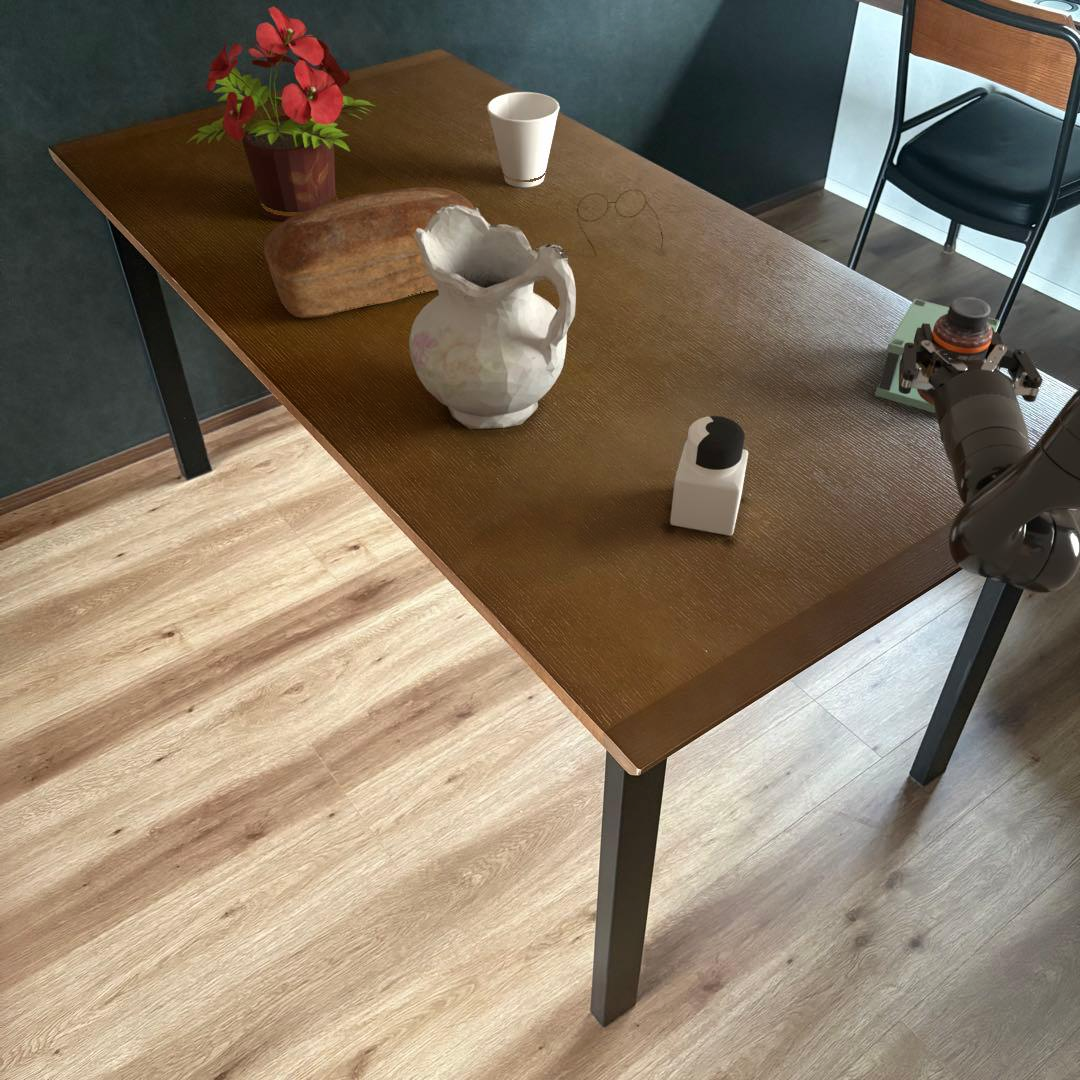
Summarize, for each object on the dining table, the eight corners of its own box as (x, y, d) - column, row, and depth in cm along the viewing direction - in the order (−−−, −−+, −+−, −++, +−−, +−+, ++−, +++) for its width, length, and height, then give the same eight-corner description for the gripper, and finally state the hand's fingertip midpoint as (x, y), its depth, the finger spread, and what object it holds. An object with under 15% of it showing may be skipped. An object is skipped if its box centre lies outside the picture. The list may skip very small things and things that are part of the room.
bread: (492, 284, 160) (489, 198, 150) (288, 332, 150) (271, 244, 141) (462, 247, 167) (457, 163, 158) (267, 291, 158) (249, 205, 149)
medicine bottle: (741, 496, 125) (755, 414, 117) (732, 537, 121) (746, 454, 112) (680, 486, 127) (690, 403, 119) (669, 526, 122) (678, 443, 114)
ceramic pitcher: (601, 389, 142) (613, 206, 127) (553, 470, 128) (558, 276, 112) (451, 358, 148) (443, 180, 132) (388, 433, 134) (371, 243, 118)
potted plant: (284, 258, 165) (246, 56, 144) (185, 201, 179) (137, 9, 158) (427, 193, 181) (412, 1, 160) (326, 145, 194) (299, -37, 173)
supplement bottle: (904, 384, 121) (929, 295, 113) (951, 375, 122) (978, 286, 114) (934, 415, 117) (962, 325, 109) (982, 405, 118) (1012, 315, 110)
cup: (509, 200, 178) (507, 126, 170) (477, 172, 186) (474, 100, 177) (571, 184, 183) (573, 111, 174) (538, 157, 190) (537, 86, 181)
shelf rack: (982, 372, 143) (1000, 320, 137) (960, 421, 136) (978, 368, 130) (900, 349, 147) (914, 298, 141) (874, 395, 139) (888, 343, 134)
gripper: (1071, 400, 101) (1034, 305, 113) (914, 390, 103) (894, 297, 115) (1046, 462, 106) (1012, 365, 119) (897, 452, 108) (879, 357, 120)
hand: (954, 332), depth 117 cm, fingers closed on supplement bottle, 6 cm apart
